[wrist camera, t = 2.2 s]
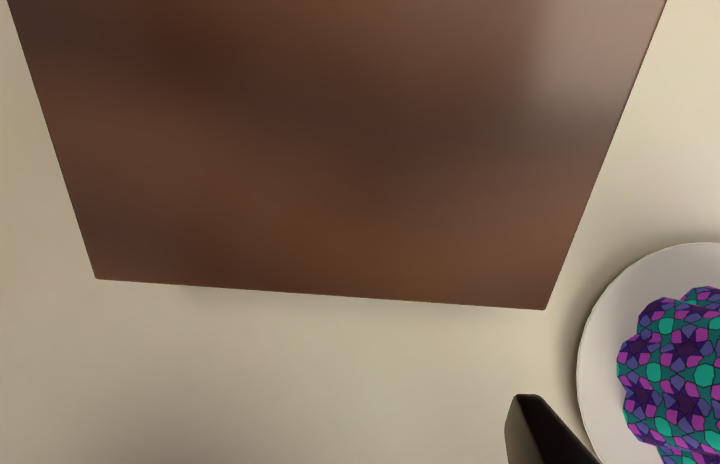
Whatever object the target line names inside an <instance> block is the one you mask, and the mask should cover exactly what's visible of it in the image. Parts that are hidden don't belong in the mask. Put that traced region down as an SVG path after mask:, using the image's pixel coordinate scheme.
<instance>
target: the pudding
mask: <svg viewBox="0 0 720 464" xmlns="http://www.w3.org/2000/svg"><path fill="white" fill-rule="evenodd" d="M576 382H577V396H578V403H579V407H580V411H581V416H582V420H583V424H584V427H585V430H586V432H587V434H588V437H589V439H590V442H591V444H592V446H593V449H594V451H595V453H596V454H597V456H598V457H599V459H600V461H601V462H602V464H720V243H718V242H691V243H685V244H680V245H675V246H670V247H667V248H664V249H662V250H659V251H657V252H654V253H651V254H649V255H647V256H645V257H643V258H642V259H640V260H639V261H637V262H635V263H634V264H632V265H631V266H629V267H628V268H626V269H625V270H624V271H623V272H622V273H621V274H620V275H619V276H618V277H617V278H616V279H615V280H613V281H612V282H611V283H610V284H609V286H608V287H607V288H606V290H605V291H604V292H603V294H602V295H601V297H600V298H599V299H598V301H597V302H596V304H595V306H594V308H593V310H592V312H591V314H590V316H589V318H588V320H587V322H586V324H585V327H584V331H583V334H582V338H581V342H580V345H579V349H578V359H577V369H576Z"/></svg>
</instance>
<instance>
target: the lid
mask: <svg viewBox="0 0 720 464" xmlns="http://www.w3.org/2000/svg"><path fill="white" fill-rule="evenodd" d="M7 2H8V5H9V8H10V11H11V14H12V18H13V21H14V24H15V27H16V30H17V33H18V36H19V40H20V43H21V46H22V49H23V52H24V55H25V58H26V62H27V65H28V68H29V71H30V74H31V77H32V80H33V83H34V87H35V90H36V93H37V96H38V99H39V102H40V105H41V109H42V112H43V115H44V118H45V121H46V124H47V127H48V131H49V134H50V137H51V140H52V143H53V146H54V149H55V153H56V156H57V159H58V162H59V165H60V168H61V171H62V175H63V178H64V181H65V184H66V187H67V190H68V193H69V197H70V200H71V203H72V206H73V209H74V212H75V215H76V219H77V222H78V225H79V228H80V231H81V234H82V237H83V240H84V244H85V247H86V250H87V253H88V256H89V259H90V262H91V266H92V269H93V272H94V275H95V278H96V279H102V280H117V281H131V282H145V283H160V284H174V285H188V286H202V287H217V288H231V289H245V290H260V291H274V292H288V293H303V294H317V295H331V296H346V297H360V298H374V299H389V300H403V301H417V302H432V303H446V304H460V305H475V306H489V307H503V308H518V309H532V310H545V309H546V306H547V304H548V301H549V299H550V296H551V293H552V291H553V288H554V286H555V283H556V281H557V278H558V276H559V273H560V271H561V268H562V266H563V263H564V260H565V258H566V255H567V253H568V250H569V248H570V245H571V243H572V240H573V238H574V235H575V233H576V230H577V228H578V225H579V222H580V220H581V217H582V215H583V212H584V210H585V207H586V205H587V202H588V200H589V197H590V195H591V192H592V189H593V187H594V184H595V182H596V179H597V177H598V174H599V172H600V169H601V167H602V164H603V162H604V159H605V157H606V154H607V151H608V149H609V146H610V144H611V141H612V139H613V136H614V134H615V131H616V129H617V126H618V124H619V121H620V119H621V116H622V113H623V111H624V108H625V106H626V103H627V101H628V98H629V96H630V93H631V91H632V88H633V86H634V83H635V80H636V78H637V75H638V73H639V70H640V68H641V65H642V63H643V60H644V58H645V55H646V53H647V50H648V48H649V45H650V42H651V40H652V37H653V35H654V32H655V30H656V27H657V25H658V22H659V20H660V17H661V15H662V12H663V9H664V7H665V4H666V2H667V0H7Z"/></svg>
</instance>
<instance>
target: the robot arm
mask: <svg viewBox="0 0 720 464" xmlns="http://www.w3.org/2000/svg"><path fill="white" fill-rule="evenodd" d="M504 433H505V442H506V449H507V456H508V463H509V464H600V463H599V462H598V461H597V460H596V459H595V457H594V456H593V455H592V454H591V453H590V452H589V451H588V449H587V448H586V447H585V446H584V445H583V444H582V443H581V441H580V440H579V439H578V438H577V437H576V436H575V435H574V433H573V432H572V431H571V430H570V429H569V428H568V427H567V425H566V424H565V423H564V422H563V421H562V420H561V419H560V418H559V416H558V415H557V414H556V413H555V412H554V411H553V410H552V408H551V407H550V406H549V405H548V404H547V403H546V402H545V400H544V399H543V398H542V397H540V396H538V395H535V394H517V395H515V396H514V397H513V400H512V403H511V406H510V409H509V412H508V415H507V419H506V422H505V429H504Z"/></svg>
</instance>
